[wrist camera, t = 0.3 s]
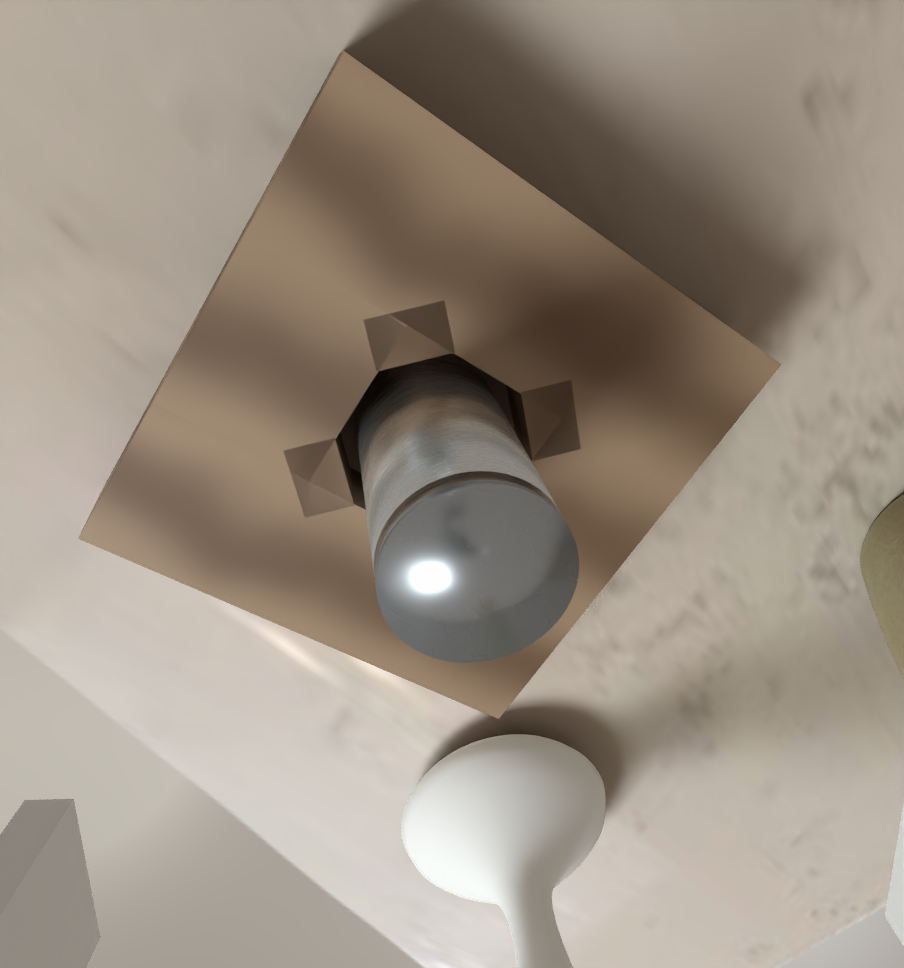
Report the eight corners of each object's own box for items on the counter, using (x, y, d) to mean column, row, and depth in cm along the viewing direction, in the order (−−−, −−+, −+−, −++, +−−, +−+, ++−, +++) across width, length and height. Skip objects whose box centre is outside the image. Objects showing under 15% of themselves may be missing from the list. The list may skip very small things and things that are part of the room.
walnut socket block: (339, 53, 31) (343, 50, 27) (731, 333, 38) (781, 364, 34) (103, 487, 37) (77, 538, 33) (481, 659, 44) (498, 719, 40)
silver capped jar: (403, 322, 34) (450, 449, 23) (521, 393, 36) (619, 543, 25) (328, 441, 36) (336, 615, 24) (445, 502, 38) (503, 689, 27)
